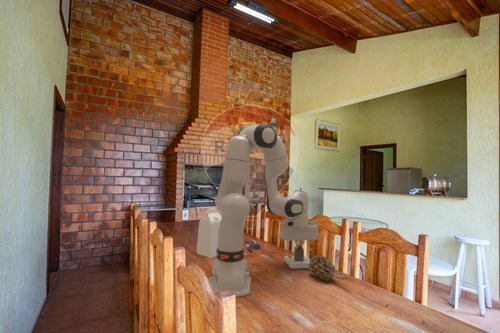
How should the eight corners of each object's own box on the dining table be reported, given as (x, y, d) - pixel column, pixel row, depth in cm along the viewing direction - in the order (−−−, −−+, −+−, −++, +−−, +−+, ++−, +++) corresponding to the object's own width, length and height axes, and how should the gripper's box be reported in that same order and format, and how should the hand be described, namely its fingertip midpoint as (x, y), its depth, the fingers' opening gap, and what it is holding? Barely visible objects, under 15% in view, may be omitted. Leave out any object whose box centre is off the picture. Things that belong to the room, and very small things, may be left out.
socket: (314, 269, 136) (314, 262, 136) (290, 269, 134) (290, 262, 134) (305, 261, 148) (305, 254, 148) (284, 261, 146) (284, 255, 146)
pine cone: (302, 275, 127) (303, 254, 127) (316, 271, 133) (316, 251, 133) (343, 293, 110) (344, 268, 110) (357, 288, 115) (357, 264, 115)
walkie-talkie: (242, 244, 179) (250, 253, 159) (242, 237, 179) (250, 246, 159) (255, 244, 181) (264, 253, 162) (255, 237, 181) (264, 245, 162)
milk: (211, 249, 166) (213, 206, 166) (225, 253, 158) (226, 208, 159) (196, 253, 156) (197, 208, 157) (210, 258, 149) (211, 210, 149)
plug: (303, 265, 138) (303, 250, 138) (294, 264, 139) (294, 249, 139) (302, 261, 144) (302, 247, 144) (293, 261, 144) (294, 246, 144)
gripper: (316, 220, 146) (315, 246, 146) (279, 220, 143) (278, 247, 143) (321, 222, 140) (320, 249, 139) (282, 223, 137) (281, 250, 137)
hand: (299, 248), depth 141 cm, fingers closed
